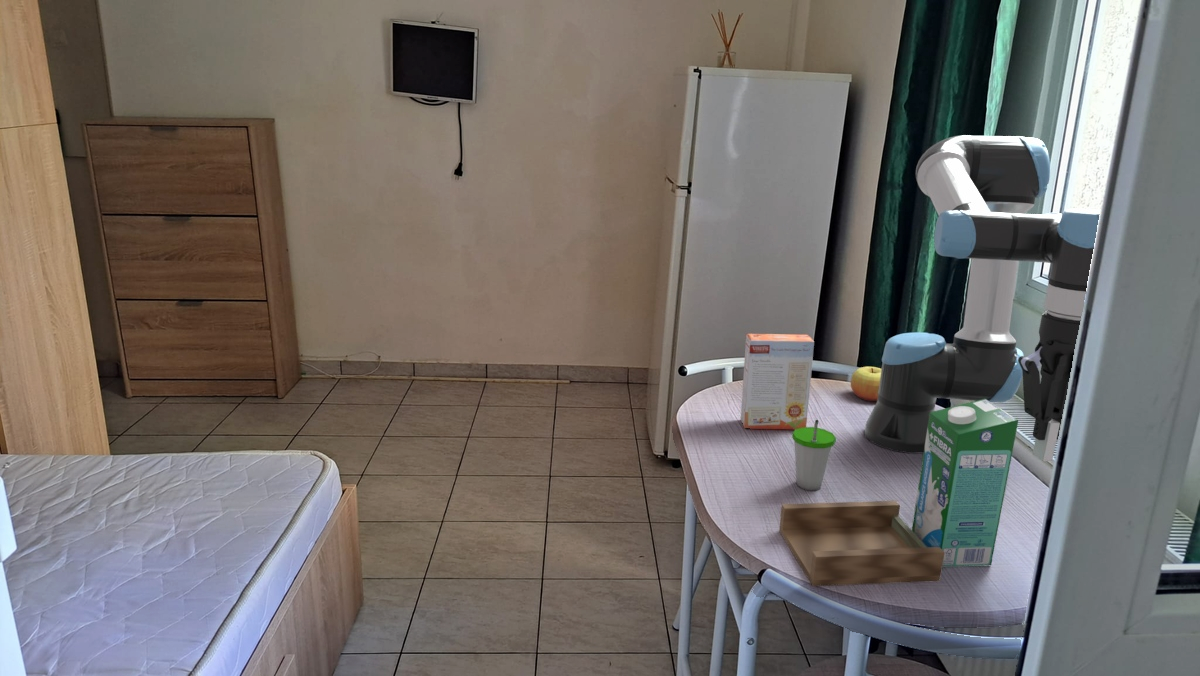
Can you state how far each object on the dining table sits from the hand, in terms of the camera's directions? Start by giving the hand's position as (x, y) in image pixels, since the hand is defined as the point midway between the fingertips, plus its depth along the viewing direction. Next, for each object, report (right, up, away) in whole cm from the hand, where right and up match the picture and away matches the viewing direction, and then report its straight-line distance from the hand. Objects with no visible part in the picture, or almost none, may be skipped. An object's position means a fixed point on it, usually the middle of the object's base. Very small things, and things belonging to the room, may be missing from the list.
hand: (1042, 457), depth 124 cm
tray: (-29, -16, +2) cm, 33 cm away
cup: (-30, -9, +25) cm, 40 cm away
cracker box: (-31, -1, +53) cm, 61 cm away
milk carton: (-13, -16, +3) cm, 21 cm away
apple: (-3, +4, +71) cm, 71 cm away
